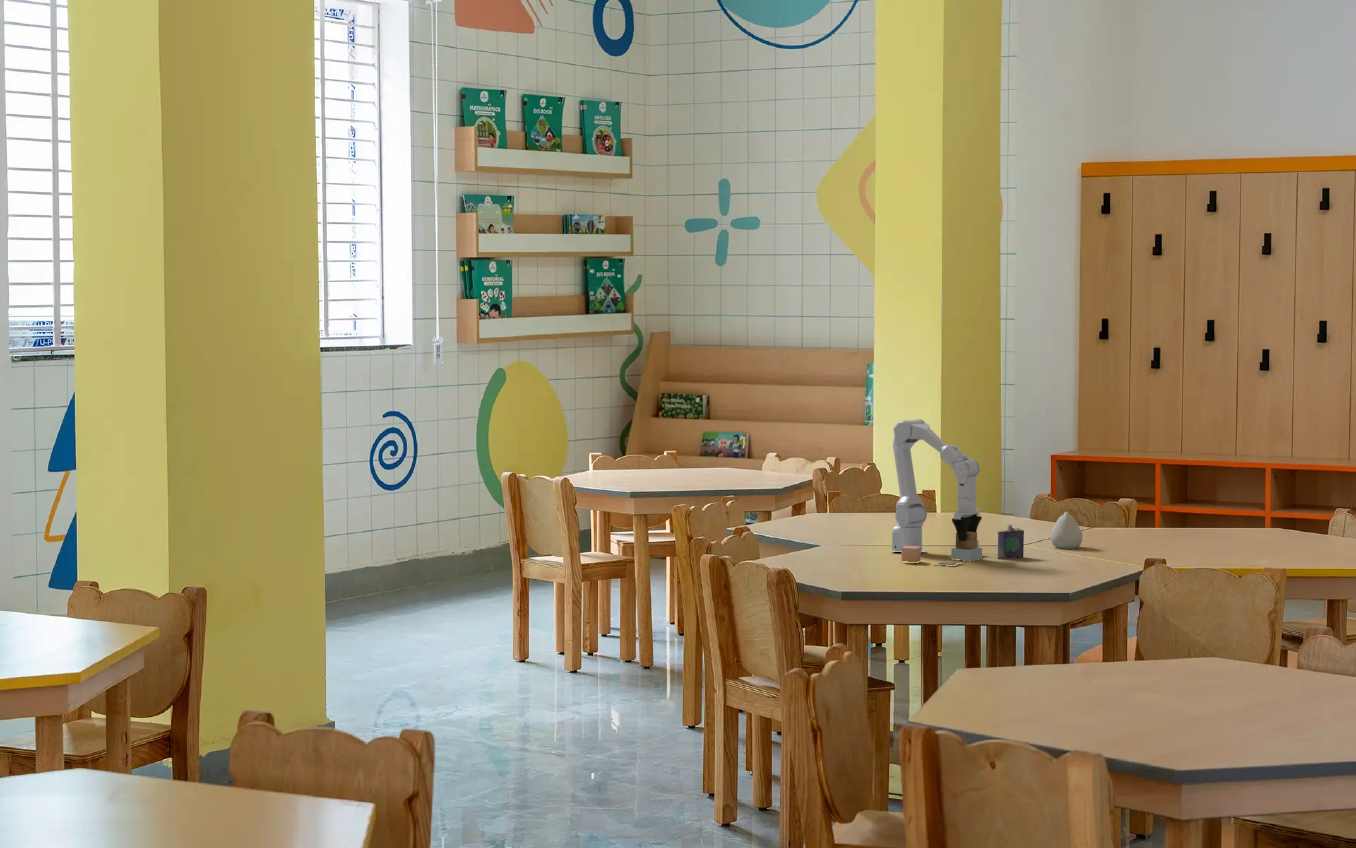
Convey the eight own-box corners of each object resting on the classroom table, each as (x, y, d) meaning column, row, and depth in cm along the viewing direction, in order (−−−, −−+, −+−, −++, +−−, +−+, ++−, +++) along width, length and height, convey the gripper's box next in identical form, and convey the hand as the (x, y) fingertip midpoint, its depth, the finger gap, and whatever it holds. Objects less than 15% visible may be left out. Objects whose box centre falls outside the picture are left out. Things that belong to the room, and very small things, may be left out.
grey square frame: (933, 565, 453) (933, 563, 453) (943, 562, 458) (943, 560, 458) (953, 567, 448) (953, 564, 448) (963, 564, 454) (963, 562, 454)
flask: (1000, 559, 464) (1000, 526, 463) (995, 558, 466) (995, 525, 466) (1025, 557, 467) (1025, 524, 466) (1020, 556, 469) (1020, 523, 469)
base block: (951, 560, 463) (951, 548, 463) (963, 558, 469) (963, 546, 468) (970, 563, 459) (970, 550, 459) (982, 560, 464) (982, 548, 464)
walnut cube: (955, 548, 463) (955, 532, 463) (962, 546, 467) (962, 531, 467) (970, 549, 460) (970, 533, 460) (976, 547, 464) (977, 532, 464)
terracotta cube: (901, 563, 457) (901, 547, 457) (905, 561, 462) (905, 545, 462) (917, 564, 456) (917, 548, 455) (920, 562, 460) (920, 546, 460)
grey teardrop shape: (1083, 550, 482) (1084, 514, 482) (1051, 549, 484) (1051, 513, 484) (1081, 546, 492) (1081, 510, 492) (1049, 545, 495) (1050, 510, 494)
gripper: (968, 500, 454) (968, 543, 455) (988, 496, 466) (988, 538, 467) (947, 498, 459) (947, 541, 459) (968, 494, 470) (968, 536, 471)
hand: (966, 539), depth 463 cm, fingers open, 6 cm apart
